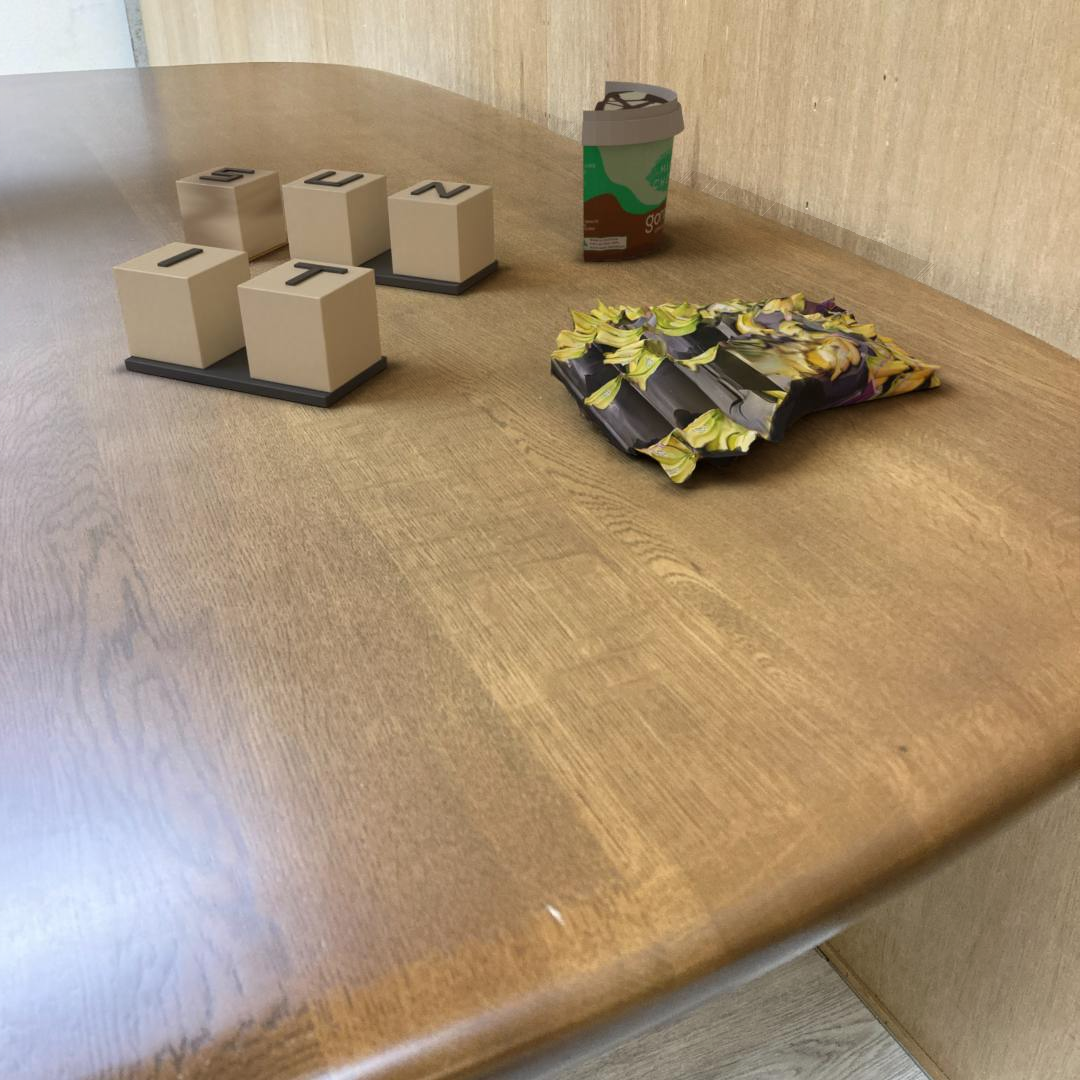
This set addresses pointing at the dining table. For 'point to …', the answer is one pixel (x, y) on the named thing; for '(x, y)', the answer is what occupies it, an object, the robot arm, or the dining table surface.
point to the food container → (627, 169)
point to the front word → (250, 322)
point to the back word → (393, 228)
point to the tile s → (232, 209)
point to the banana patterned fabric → (723, 373)
